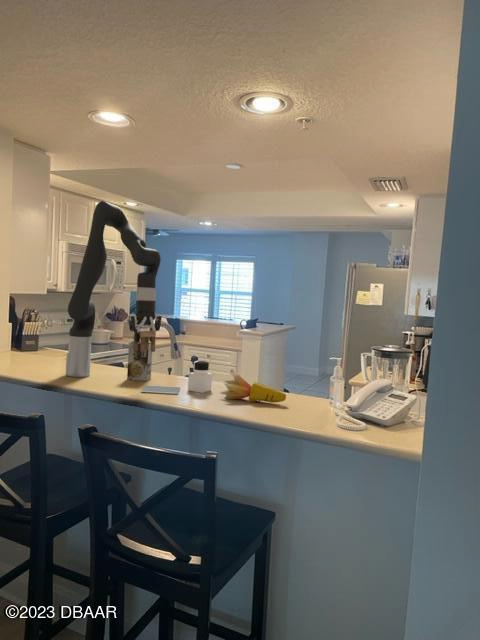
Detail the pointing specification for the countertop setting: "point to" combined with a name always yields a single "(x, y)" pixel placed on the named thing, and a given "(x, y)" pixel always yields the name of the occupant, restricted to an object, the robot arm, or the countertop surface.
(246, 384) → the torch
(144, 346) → the stool
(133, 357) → the coffee box
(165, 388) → the mat
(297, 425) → the countertop surface
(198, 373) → the medicine bottle
